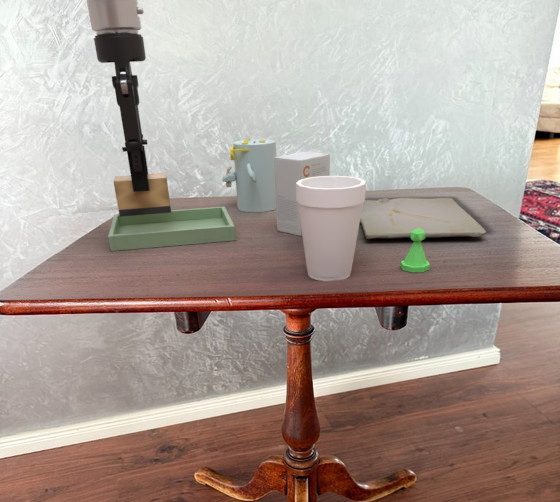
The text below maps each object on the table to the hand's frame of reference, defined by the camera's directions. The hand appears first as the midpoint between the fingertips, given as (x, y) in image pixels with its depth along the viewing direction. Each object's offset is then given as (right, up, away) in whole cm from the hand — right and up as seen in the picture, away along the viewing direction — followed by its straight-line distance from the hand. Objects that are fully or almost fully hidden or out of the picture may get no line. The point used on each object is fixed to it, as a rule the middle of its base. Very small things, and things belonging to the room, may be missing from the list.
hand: (141, 187), depth 96 cm
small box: (+29, -6, +5) cm, 30 cm away
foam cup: (+32, -19, -16) cm, 40 cm away
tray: (+5, -7, +5) cm, 10 cm away
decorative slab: (+50, -5, +7) cm, 51 cm away
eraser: (0, -4, +2) cm, 4 cm away
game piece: (+45, -17, -15) cm, 50 cm away
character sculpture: (+18, +3, +22) cm, 28 cm away
